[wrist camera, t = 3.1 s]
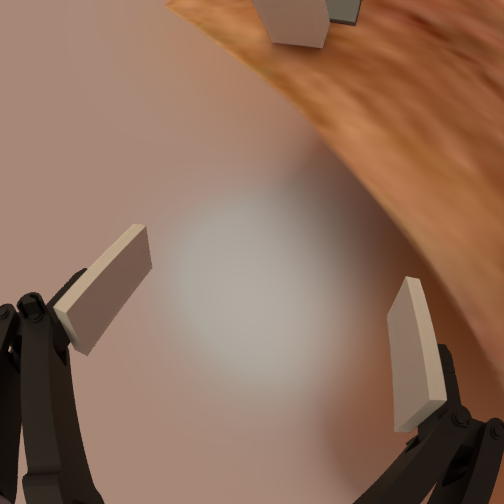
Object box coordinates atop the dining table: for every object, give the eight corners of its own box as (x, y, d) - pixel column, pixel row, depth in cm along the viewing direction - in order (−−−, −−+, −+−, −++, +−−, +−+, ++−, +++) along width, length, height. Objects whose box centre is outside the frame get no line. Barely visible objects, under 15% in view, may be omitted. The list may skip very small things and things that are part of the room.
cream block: (322, 48, 36) (304, -19, 22) (272, 42, 38) (241, -18, 25) (330, 22, 35) (315, -42, 22) (283, 17, 38) (257, -42, 24)
